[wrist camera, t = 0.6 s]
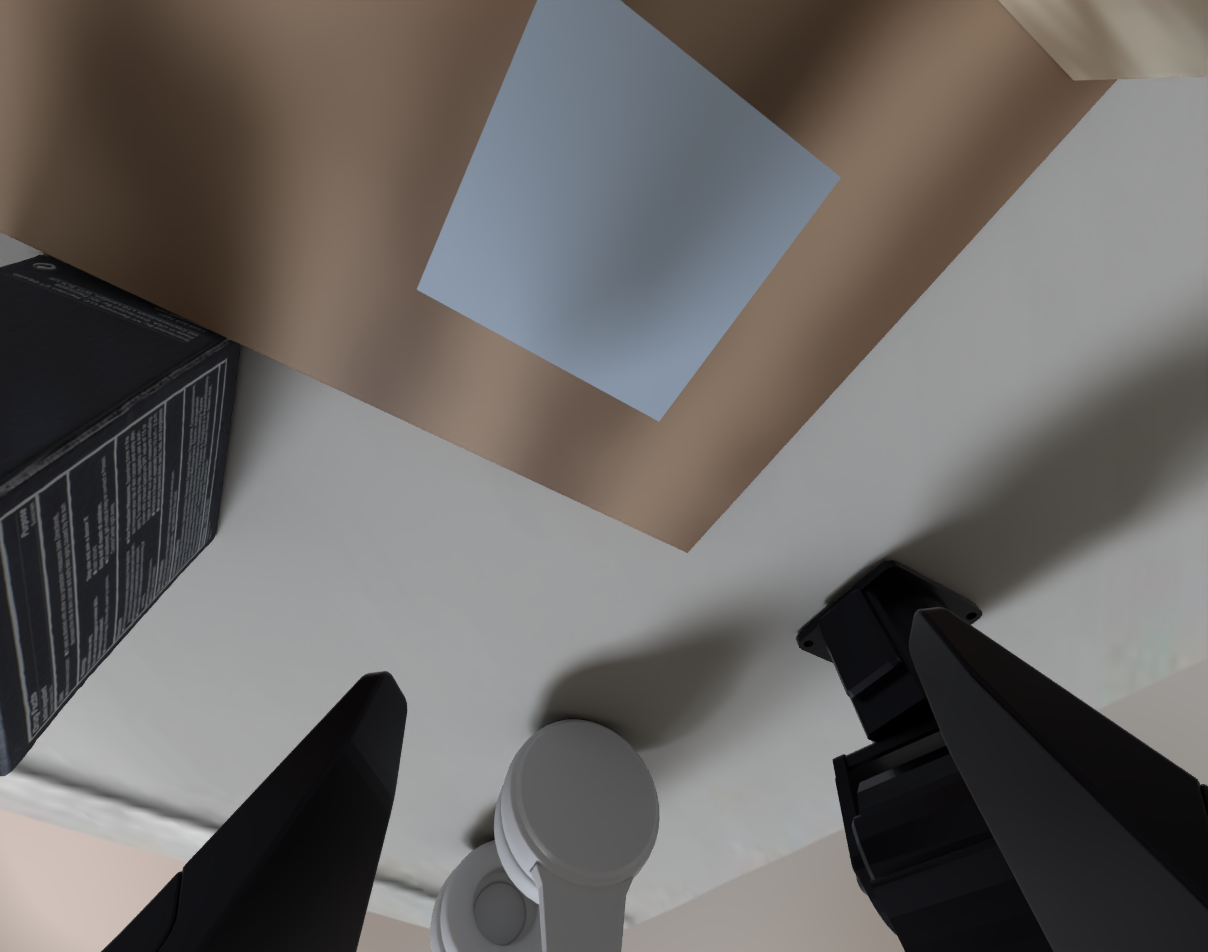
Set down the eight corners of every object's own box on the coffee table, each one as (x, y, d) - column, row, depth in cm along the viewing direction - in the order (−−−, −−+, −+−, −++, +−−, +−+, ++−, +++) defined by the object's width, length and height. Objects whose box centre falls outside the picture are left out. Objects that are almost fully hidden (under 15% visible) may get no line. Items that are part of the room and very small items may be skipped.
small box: (26, 240, 18) (-526, 383, 9) (248, 328, 19) (-32, 519, 11) (45, 489, 23) (-289, 732, 14) (219, 541, 25) (15, 785, 16)
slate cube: (759, 150, 15) (841, 177, 10) (640, 332, 18) (658, 421, 13) (569, 3, 14) (557, -50, 9) (469, 230, 16) (416, 289, 11)
